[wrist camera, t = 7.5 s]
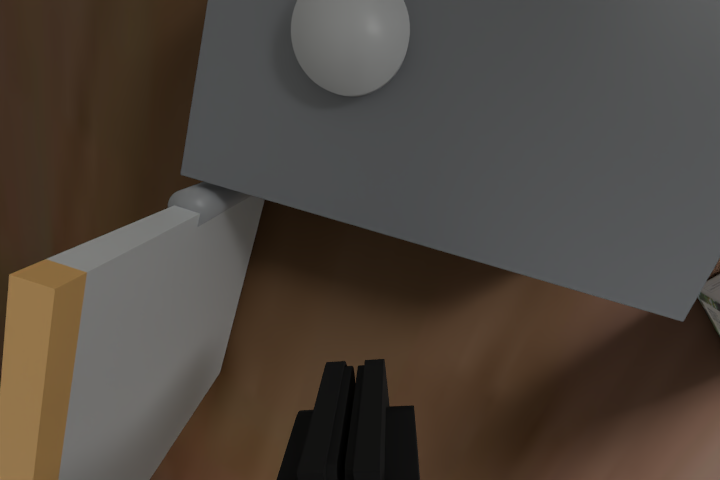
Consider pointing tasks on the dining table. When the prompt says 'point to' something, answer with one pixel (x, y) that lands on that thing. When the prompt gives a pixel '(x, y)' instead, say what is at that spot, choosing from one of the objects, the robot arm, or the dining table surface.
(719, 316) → the syrup box
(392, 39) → the grey cabinet
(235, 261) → the side door
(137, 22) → the dining table surface
